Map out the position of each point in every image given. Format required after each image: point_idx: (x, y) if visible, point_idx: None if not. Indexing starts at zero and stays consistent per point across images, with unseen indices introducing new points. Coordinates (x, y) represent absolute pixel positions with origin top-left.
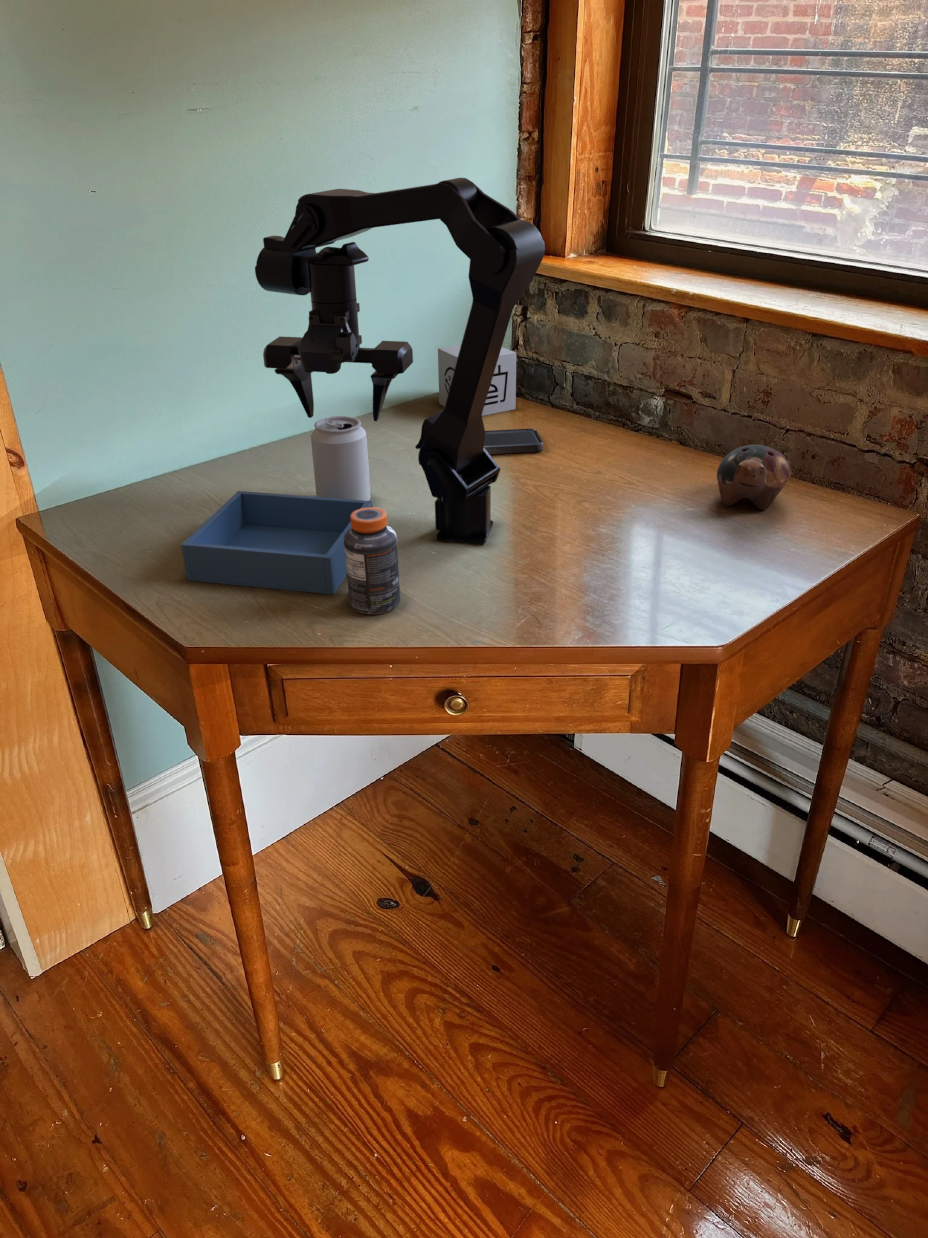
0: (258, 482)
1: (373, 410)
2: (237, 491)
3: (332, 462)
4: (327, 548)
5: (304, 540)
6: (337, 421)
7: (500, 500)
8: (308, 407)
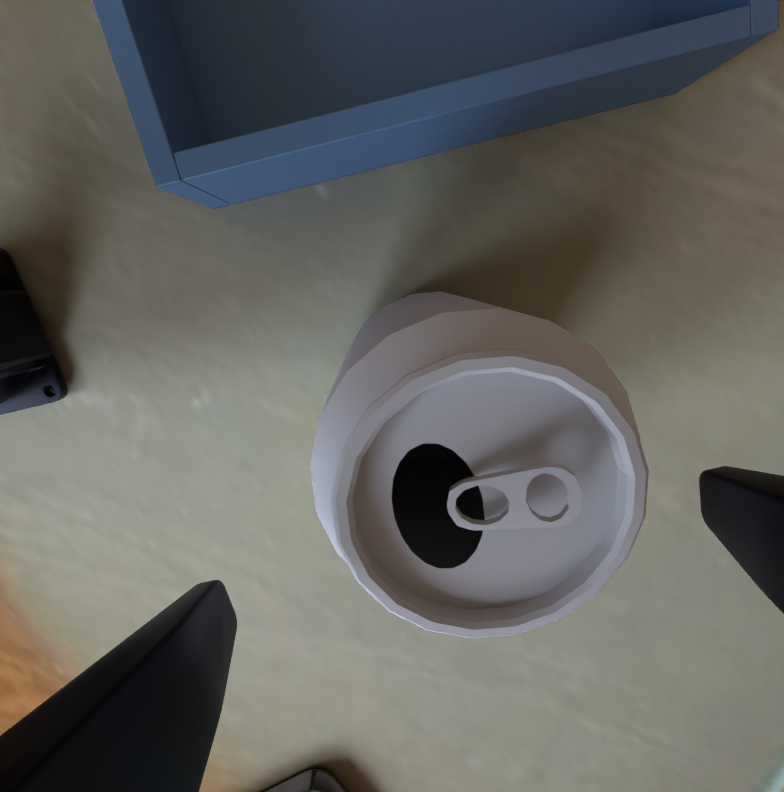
0: (772, 412)
1: (166, 631)
2: (778, 17)
3: (422, 306)
4: (278, 13)
5: (389, 39)
6: (534, 571)
7: (29, 577)
8: (775, 493)
